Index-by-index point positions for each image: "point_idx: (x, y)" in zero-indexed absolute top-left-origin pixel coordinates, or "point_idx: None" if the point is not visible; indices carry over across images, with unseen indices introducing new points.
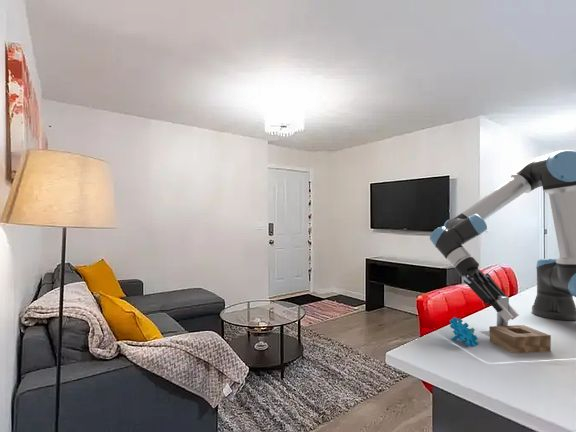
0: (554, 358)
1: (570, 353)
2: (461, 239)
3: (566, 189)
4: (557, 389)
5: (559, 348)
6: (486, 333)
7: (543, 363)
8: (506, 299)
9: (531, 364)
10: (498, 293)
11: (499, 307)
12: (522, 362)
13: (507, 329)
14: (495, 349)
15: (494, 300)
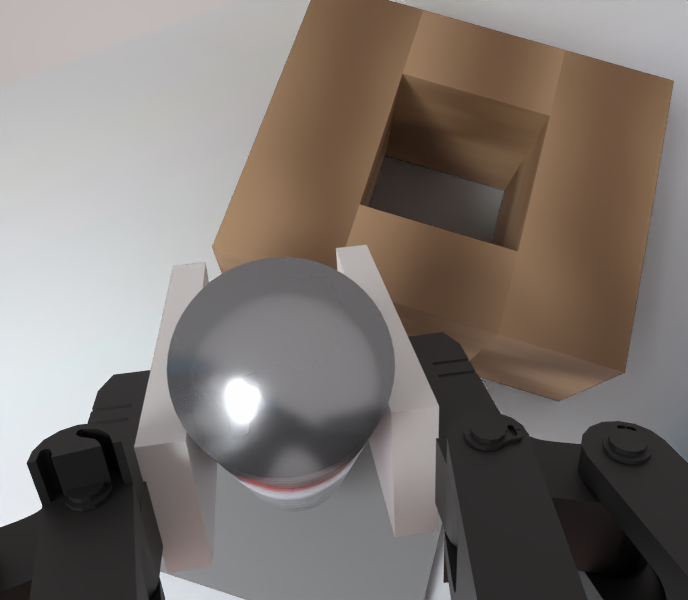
0: None
1: (208, 16)
2: None
3: None
4: None
5: (165, 90)
6: (399, 564)
7: (556, 9)
8: (319, 274)
9: (643, 30)
10: (139, 573)
11: (447, 356)
12: (670, 66)
13: (528, 227)
14: (650, 274)
15: (501, 420)
